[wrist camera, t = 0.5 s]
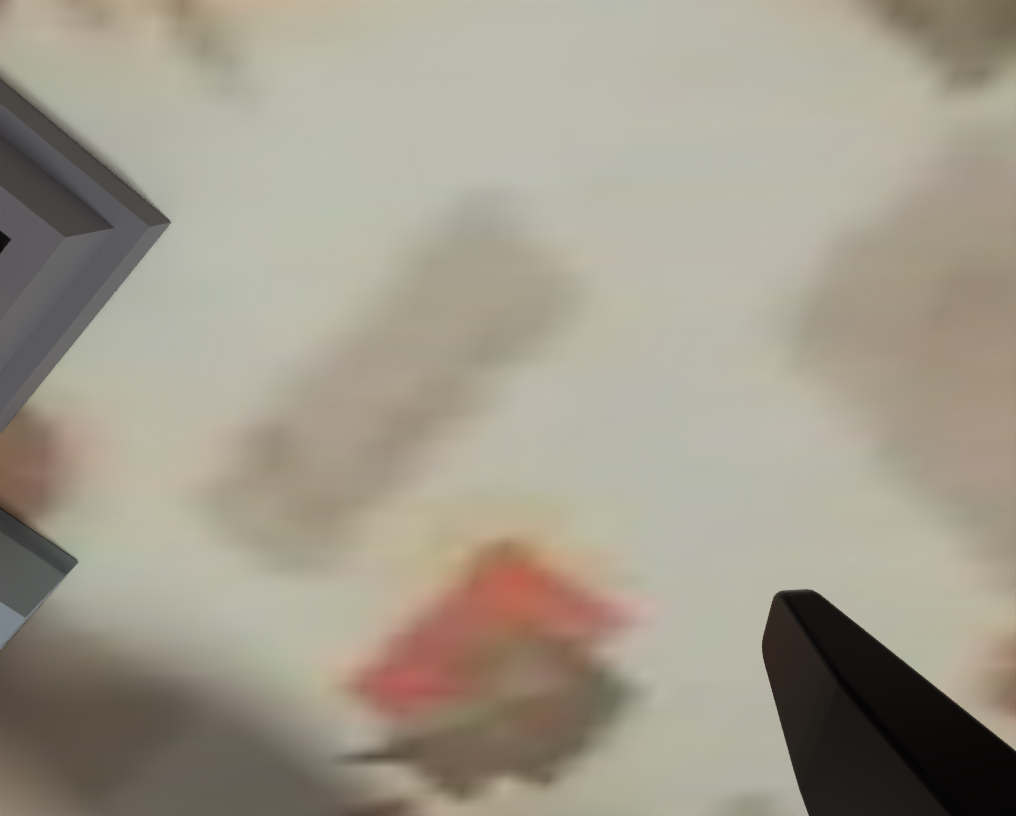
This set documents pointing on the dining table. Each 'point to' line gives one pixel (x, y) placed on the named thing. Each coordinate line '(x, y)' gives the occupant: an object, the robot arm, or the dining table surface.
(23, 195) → the socket block
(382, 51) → the dining table surface
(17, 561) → the tray
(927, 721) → the robot arm
